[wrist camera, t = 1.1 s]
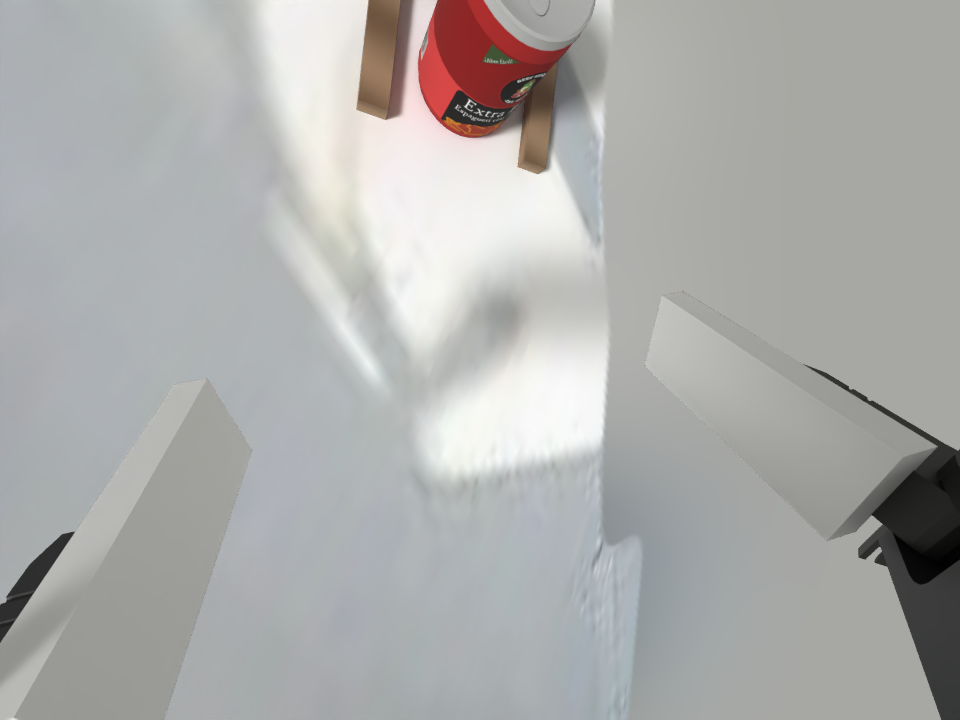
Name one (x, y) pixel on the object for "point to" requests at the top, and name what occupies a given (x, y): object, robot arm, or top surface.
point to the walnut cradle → (379, 82)
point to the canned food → (492, 56)
